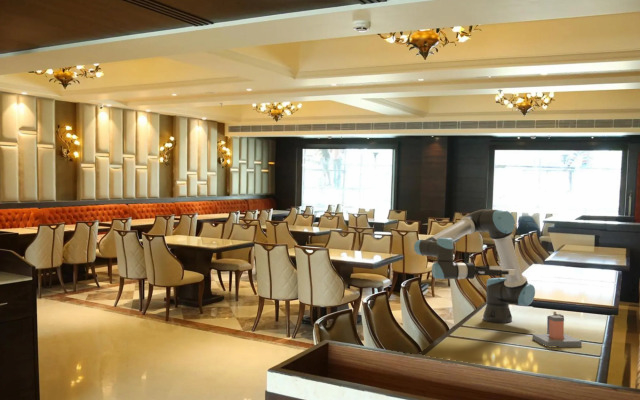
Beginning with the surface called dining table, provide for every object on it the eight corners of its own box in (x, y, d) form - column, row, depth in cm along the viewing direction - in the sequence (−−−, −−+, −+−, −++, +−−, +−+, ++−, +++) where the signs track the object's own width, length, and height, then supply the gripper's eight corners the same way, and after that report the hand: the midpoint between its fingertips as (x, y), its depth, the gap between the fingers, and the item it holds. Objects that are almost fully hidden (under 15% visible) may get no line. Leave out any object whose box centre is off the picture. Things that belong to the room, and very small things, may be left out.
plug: (548, 342, 258) (548, 315, 258) (558, 341, 258) (558, 315, 258) (554, 344, 253) (554, 317, 253) (563, 344, 253) (564, 317, 253)
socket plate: (532, 339, 262) (532, 334, 262) (565, 339, 263) (565, 333, 263) (547, 347, 248) (547, 341, 248) (581, 346, 249) (581, 341, 249)
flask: (549, 334, 271) (549, 312, 271) (545, 333, 274) (545, 311, 274) (564, 333, 274) (564, 311, 274) (560, 332, 277) (560, 310, 277)
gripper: (456, 275, 277) (497, 274, 278) (474, 282, 252) (519, 282, 254) (456, 260, 277) (497, 259, 278) (474, 266, 252) (519, 265, 254)
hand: (508, 270), depth 266 cm, fingers open, 13 cm apart
